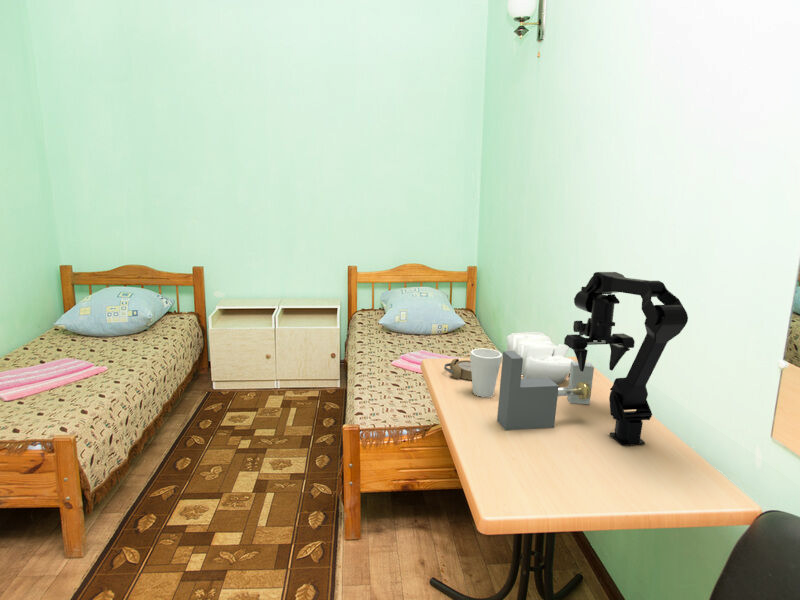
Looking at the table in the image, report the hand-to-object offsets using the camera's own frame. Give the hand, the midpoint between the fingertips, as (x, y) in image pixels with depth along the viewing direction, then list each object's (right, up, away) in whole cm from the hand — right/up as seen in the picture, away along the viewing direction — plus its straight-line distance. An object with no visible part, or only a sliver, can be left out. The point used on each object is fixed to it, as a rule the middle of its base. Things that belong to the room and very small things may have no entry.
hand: (596, 370), depth 160 cm
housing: (-21, -14, -6) cm, 26 cm away
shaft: (-11, -7, -5) cm, 14 cm away
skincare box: (-2, -11, +11) cm, 16 cm away
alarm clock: (-33, -6, +29) cm, 45 cm away
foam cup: (-30, -9, +14) cm, 34 cm away
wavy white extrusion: (-8, -4, +38) cm, 39 cm away
